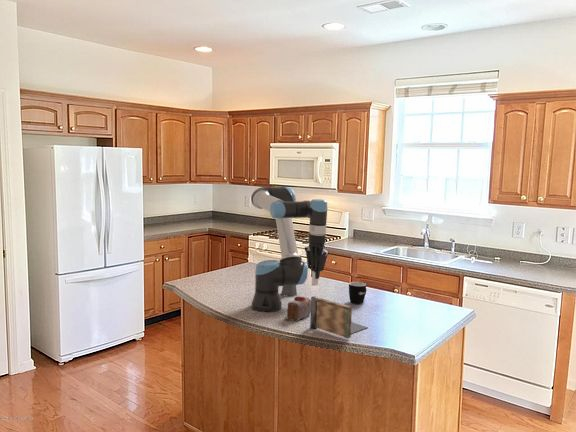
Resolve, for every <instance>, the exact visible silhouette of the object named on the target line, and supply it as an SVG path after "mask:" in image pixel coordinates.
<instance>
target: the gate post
mask: <svg viewBox="0 0 576 432" xmlns="http://www.w3.org/2000/svg"><path fill="white" fill-rule="evenodd" d="M318 298H319V297H318V296H315V295H314V296H311V297H310V300H311V313H310V321H309V322H310V324H309V328H310V329H311V330H317V329H318V328H316V323H317V299H318ZM310 329H309V330H310Z"/></svg>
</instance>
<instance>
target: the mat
mask: <svg viewBox="0 0 576 432" xmlns="http://www.w3.org/2000/svg"><path fill="white" fill-rule="evenodd" d="M368 328H369V327H368V326H366V325H362V324H360V323H356V322H353V321H351V335H354V334H357V333H358V332H361V331H364V330H367V329H368Z"/></svg>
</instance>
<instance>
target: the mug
mask: <svg viewBox="0 0 576 432" xmlns="http://www.w3.org/2000/svg"><path fill="white" fill-rule="evenodd" d="M366 294H367V283H364V282H361V281H352V282H349V283H348V296H349V302H350V304H353V305H362V304H364V302H365V298H366Z"/></svg>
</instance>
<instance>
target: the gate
mask: <svg viewBox="0 0 576 432" xmlns="http://www.w3.org/2000/svg"><path fill="white" fill-rule="evenodd" d="M352 307H353V306H350V305H347V304H342V303H340V302H336V301H333V300H329V299H324V298H322V297H318V299H317V323H316V328H317V329H320V330H322V331H325V332H327V333H331V334H333V335H337V336H340V337H343V338H345V339H349V338H351V337H352V336H351V335H352V334H351V322H352V313H353V309H352Z"/></svg>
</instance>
